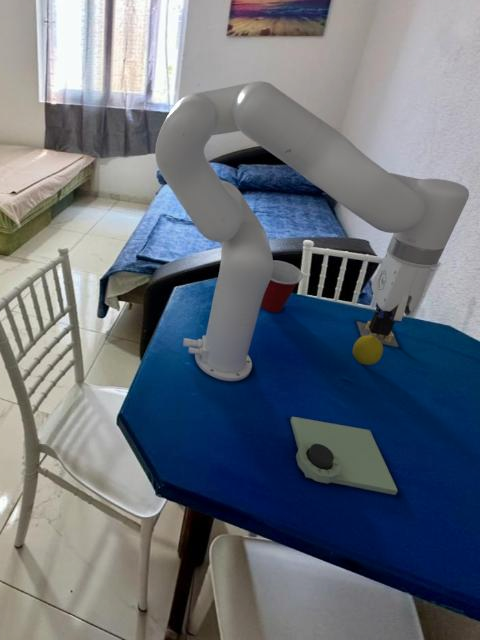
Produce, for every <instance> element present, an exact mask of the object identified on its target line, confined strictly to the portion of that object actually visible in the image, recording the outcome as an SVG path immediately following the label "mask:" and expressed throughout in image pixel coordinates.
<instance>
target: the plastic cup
mask: <svg viewBox="0 0 480 640" xmlns="http://www.w3.org/2000/svg"><path fill="white" fill-rule="evenodd" d="M303 279H304V275H303V272H302V271H301V269H300V268H298V267H297V266H295V265H294V264H292V263H289V262H286V261H283V260H277V259H276V260H274V259H273V272H272V276H271V279H270V282H269V284H268V286H267V288H266V291H265V293H264V296H263V299H262V303H261V306H260V308H262V309H263V310H265V311H267V312H272V313H279V312H281V311H282V310H283V309H284V307H285V305H286V303H287V302H288V300H289V299H290V296H291V295H292V294H293V292H294V289H295V287H296V286H297V285H298V284H299V283H300V282H301V281H302V280H303Z"/></svg>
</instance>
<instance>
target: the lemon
mask: <svg viewBox="0 0 480 640" xmlns="http://www.w3.org/2000/svg"><path fill="white" fill-rule="evenodd" d="M383 345H384V344H382V343H381V341H380V340H379V339H377V338H376V337H375V336H370V335H366V336H362V337H361V336H360V337H359V338H358V339H357V340H356V341H355V342H354V344H353V347H352V355H353V357H354V359H355V360H356V361H357V362H358V363H359V364H361V365H366V366H371V365H374V364H376V363H378V362H379V361H380V360H381V358H382V356H383V353H384V346H383Z"/></svg>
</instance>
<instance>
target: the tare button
mask: <svg viewBox="0 0 480 640" xmlns="http://www.w3.org/2000/svg"><path fill="white" fill-rule="evenodd" d="M308 459H309V461H310V462H311V463H312V464H313V465H314V466H316V467H317V468H320V469H328V468H330V466H331V464H332V462H333V460H334V456H333V453H332V452H331V451H330V449H328V448H327V447H326V446H324V445H321V444H313V445H312V446H311V448H310V450H309V452H308Z"/></svg>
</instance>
